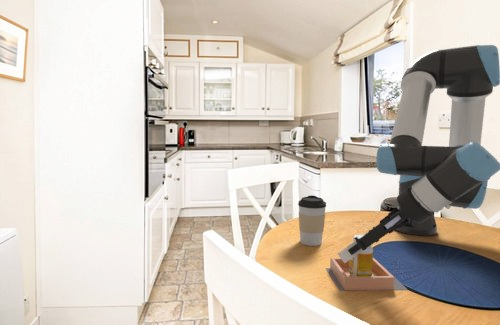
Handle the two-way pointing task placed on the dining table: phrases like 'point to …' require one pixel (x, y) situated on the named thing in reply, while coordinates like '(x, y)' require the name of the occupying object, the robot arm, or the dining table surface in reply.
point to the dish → (375, 282)
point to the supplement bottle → (361, 262)
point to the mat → (396, 287)
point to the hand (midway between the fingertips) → (346, 254)
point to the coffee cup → (311, 220)
